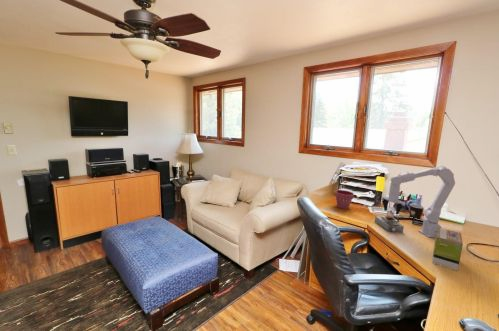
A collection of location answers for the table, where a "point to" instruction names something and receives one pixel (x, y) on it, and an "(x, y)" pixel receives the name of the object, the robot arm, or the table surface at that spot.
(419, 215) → the coffee mug
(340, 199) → the plant pot
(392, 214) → the spout can
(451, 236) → the tea box
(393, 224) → the gearbox
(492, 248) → the table surface
